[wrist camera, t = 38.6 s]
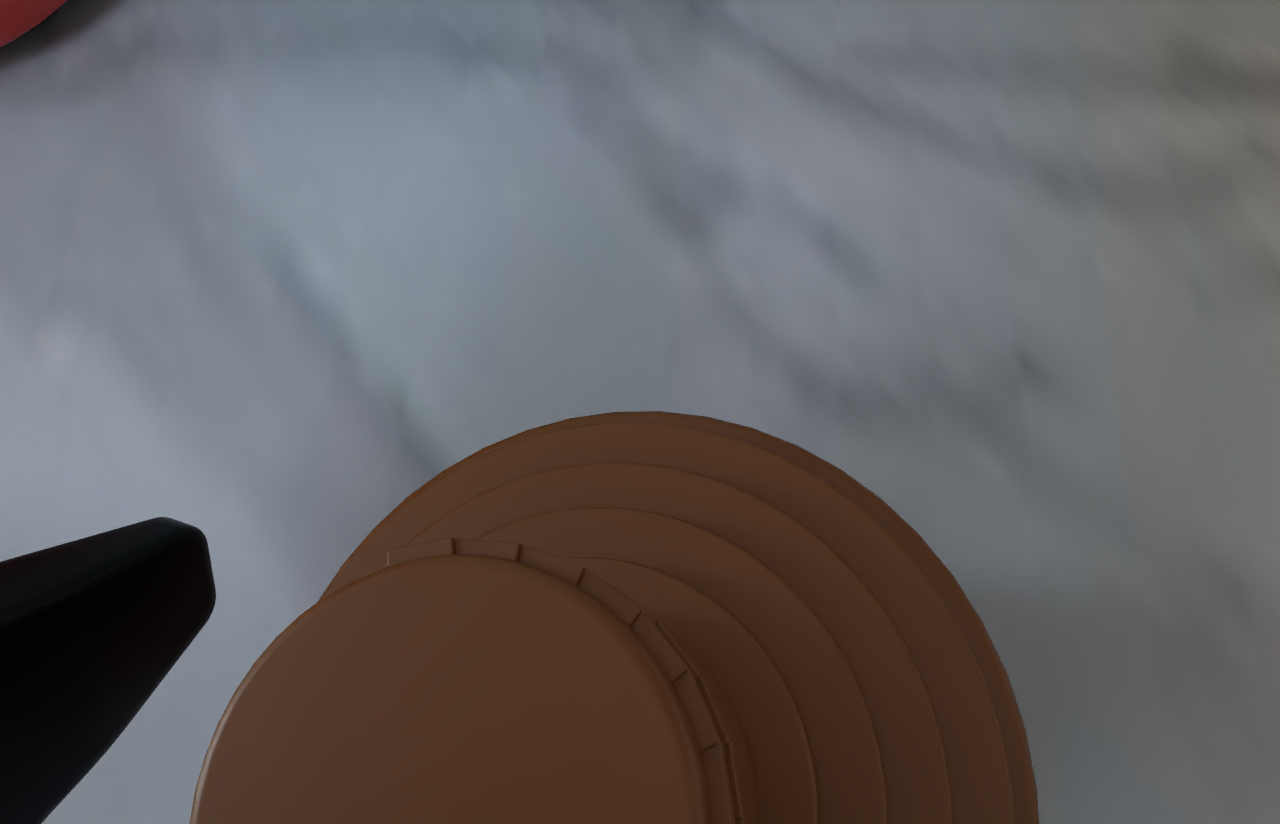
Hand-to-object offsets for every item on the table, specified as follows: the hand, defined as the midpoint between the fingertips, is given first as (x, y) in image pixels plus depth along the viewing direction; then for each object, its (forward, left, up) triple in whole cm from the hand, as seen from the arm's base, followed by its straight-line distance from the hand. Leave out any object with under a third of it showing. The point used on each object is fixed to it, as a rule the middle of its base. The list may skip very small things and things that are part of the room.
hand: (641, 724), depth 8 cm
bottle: (0, 0, -8) cm, 8 cm away
